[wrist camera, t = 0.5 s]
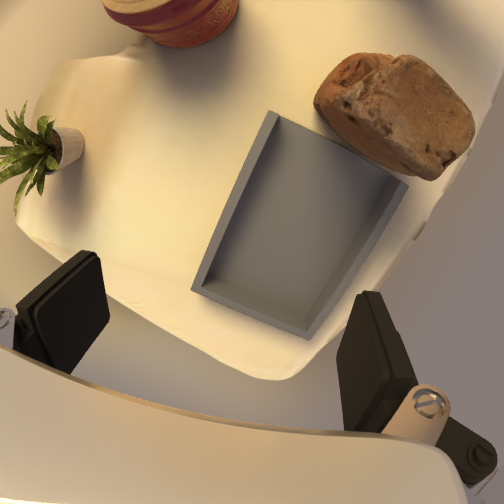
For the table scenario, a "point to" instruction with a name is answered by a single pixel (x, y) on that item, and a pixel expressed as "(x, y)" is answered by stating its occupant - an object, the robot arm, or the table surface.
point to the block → (396, 113)
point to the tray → (295, 228)
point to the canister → (174, 19)
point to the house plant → (38, 151)
